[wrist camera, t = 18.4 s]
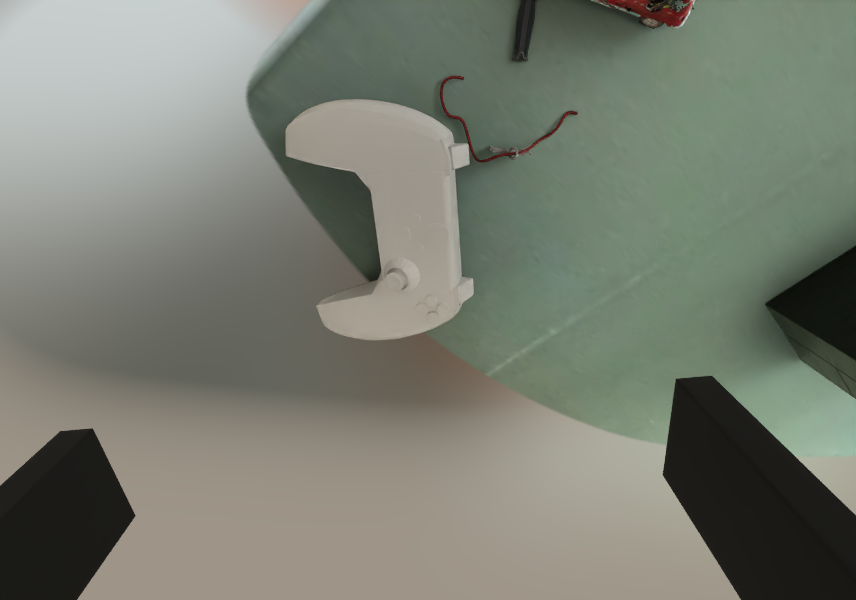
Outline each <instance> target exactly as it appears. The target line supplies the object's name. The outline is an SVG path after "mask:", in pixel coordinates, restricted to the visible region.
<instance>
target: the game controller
mask: <svg viewBox="0 0 856 600" xmlns="http://www.w3.org/2000/svg"><path fill="white" fill-rule="evenodd" d="M285 131H286V156H288V157H291V158H294V159H298V160H301V161H305V162H308V163H312V164H317V165H321V166H326V167H331V168H336V169H341V170H347V171H353V172H355V173H356V174H357V175H358V177H359V178H360V179H361V180H362V181H363V183H364V184H365V185H366V186H367V187H368V188H369V190H371V196H372V204H373V211H374V218H375V226H376V233H377V241H378V248H379V255H380V263H381V273H380V276H379V278H378V280H376V281H372V282H369V283H365V284H362V285H358V286H355V287H352V288H349V289H346V290H344V291H341V292H338V293H335V294H333V295H331V296H329V297H327V298H325V299H323V300H322V301H320V302H319V304H318V305H317V306H316V307H317V309H318V312H319V314H320V317H321V319H322V322H323V324H324V325H325V326H326V327H327V328H328V329H330V330H332V331H334V332H336V333H338V334H341V335H345V336H348V337H353V338H357V339H365V340H390V339H397V338H403V337H408V336H412V335H416V334H419V333H422V332H425V331H428V330H430V329H433V328H435V327H437V326H439V325H441V324H443V323H445V322H447V321H449V320H450V319H451V318H453V317H454V316H455V315H456V314H457V313H458V311H459V310H460V309H461V305H462V303H463V302H464V301H466V300H467V299H469V298H470V297H471V296H473V295H474V291H473V279H472V278H468V277H462V270H461V255H460V239H459V224H458V209H457V194H456V178H455V169H458V168H461V167H464V166H467V165H469V145H468V143H454V138H453V134H452V132H451V131H450V130H449V129H448V128H446V127H445V126H444V125H443V124H442V123H440V122H439V121H437V120H435V119H434V118H432V117H430V116H428V115H426V114H424V113H422V112H419V111H417V110H414V109H411V108H408V107H405V106H402V105H398V104H394V103H389V102H383V101H377V100H366V99H347V100H336V101H331V102H326V103H322V104H319V105H316V106H313V107H311V108H309V109H307V110H305V111H304V112H302V113H301V114H300V115H298V116H297V117H296V118H295V119H294V120H293V121H292V122H291V123H290V124H289V125H288V127H287V129H286V130H285Z"/></svg>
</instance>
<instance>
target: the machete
mask: <svg viewBox="0 0 856 600" xmlns="http://www.w3.org/2000/svg"><path fill="white" fill-rule="evenodd" d="M535 1H536V0H522V3H521V7H520V10H519V15H518V21H517V32H516V44H515V53H514V56H513V58H512V60H519V61H522V60H523V61H528V58H527V54H528V47H529V43H530V38H531V33H532V28H533V23H534V16H535ZM520 54H521V55H522V57H521V58H520V57H519V56H520Z"/></svg>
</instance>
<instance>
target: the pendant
mask: <svg viewBox="0 0 856 600" xmlns="http://www.w3.org/2000/svg"><path fill="white" fill-rule="evenodd" d="M450 79H461V80H463V79H464V77H461V76H450V77H448V78H446V79H445V80H444V81H443V83H442V85H441V88H440V99H441V104H442V107H443V110H444V112H445V113H446V115H447V116H448V117H450V118H453V119H459V120H460V121H461V122H462V124H463V126H464V129H465V132H466V136H467V139H468V143H469V147H470V150H471V153H472V155H473V157H474V159H475V160H476V161H477V162H481V163H483V162H487V161H490V160H493V159H495V158H498V157H501V156H509V158H510V159H512V160H514V159H516V158H517V156H518V155H531V151H528V150H530V149H531V148H532V147H534V146H535V145H536V144H537V143H538V142H540V141H542V140H544V139H545V138H547V137H549V136H550V135H552V134H553V133H554V132H555V131H556V130H557V129H558V128H559V126H560V125H561V123H562V121H563V120H564V118H565V117H566V116H567V115H568V114H575V115H577V113H578V112H574V111H569V112H566V113H565V114H564V115H563V117H562V118H561V120H560V122H559V123H558V125H557V126H556V128H555V129H554V130H553V131H552V132H550V133H549V134H547V135H546V136H544V137H542V138H540V139H538V140H537V141H536V142H534V143H533V144H532V145H531V146H530V147H528V148H526V149H525V150H520V149H517V148H516V147H511V148H501V147H496V146H489V150H492V152H496V153H503V154H499V155H495V156H493V157H491V158H488V159H485V160H479V159H478V158H477V157H476V156H475V154H474V151H473V148H472V145H471V141H470V137H469V134H468V130H467V127H466V124H465V122H464V120H463V119H462V118H460V117H458V116H452V115H450V114H449V113H448V112H447V110H446V108H445V105H444V102H443V87H444V84H445V83H446V82H447V81H448V80H450ZM511 155H515V156H514V157H511Z"/></svg>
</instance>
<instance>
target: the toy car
mask: <svg viewBox="0 0 856 600" xmlns="http://www.w3.org/2000/svg"><path fill="white" fill-rule="evenodd" d="M590 1H593V2H594V3H598V4H602V5H604V6H607V7H608V8H609V7H610V8H612V6H615V8H616V9H619V10H621V11H623V12H625V13H629V14H631V15H634V16H637V17H638V18H640V20H639V22H640V23H641V24H643V25H645V26H648V27H650V28H653V29H654V28H657V27H660V26H661V25H663V24H664V23H666V24H667V26H669V27H671V25H672V26H673V29H677V28H679V27H680V26H682V25H684V24H683V23H684V22H685V20H687V19H688V18H689V14H690V11H691V10H692V9H694V8H693V6H694V3H695V1H697V0H691V2H690V3H689V4H687V6H685V7H684V8H683V6H682V9H680V7H678V8H679V9H680V12H676V11H677V10H678V9H677V7H676V6H677V5H675V1H678V0H654V1H653V0H607V2H608V4H607V3H605V2H604V1H602V0H590ZM681 1H683V4H686V3H688V2H689V1H690V0H681ZM601 2H602V3H601ZM604 3H605V4H604ZM609 4H610V5H612V6H608V5H609ZM647 4H648V5H647ZM672 5H673V6H672ZM650 8H651V9H650ZM655 8H659V9H656V10H655ZM612 9H614V8H612ZM631 9H632V10H631ZM648 9H649V10H648ZM630 10H631V11H630ZM639 16H640V17H639Z"/></svg>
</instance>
